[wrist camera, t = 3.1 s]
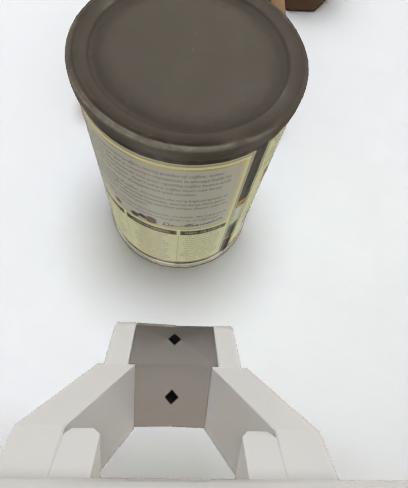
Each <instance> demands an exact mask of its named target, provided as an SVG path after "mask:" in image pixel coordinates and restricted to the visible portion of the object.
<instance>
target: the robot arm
mask: <svg viewBox="0 0 408 488" xmlns="http://www.w3.org/2000/svg"><path fill="white" fill-rule="evenodd" d="M169 424H170V426H172V427H193V428H205V431H206V433H207V434H208V436H209V437H210V439H211V440H212V442H213V443H214V445H215V446H216V448H217V449H218V451H219V452H220V454H221V455H222V456H223V458H224V459H225V461H226V462H227V464H228V465H229V467H230V468H231V470H232V471H233V473H234V474H235V479H138V478H101V469H102V468H103V467H104V465H105V464H106V463H107V462H108V460H109V459H110V458H111V457H112V455H113V454H114V453H115V452H116V450H117V449H118V448H119V447H120V445H121V444H122V443H123V441H124V440H125V439H126V438H127V436H128V435H129V434H130V433H131V431H132V430H133V428H134V427H151V426H169ZM0 488H408V481H362V480H339V478H338V476H337V473H336V471H335V468H334V466H333V463H332V461H331V458H330V456H329V453H328V451H327V448H326V446H325V443H324V441H323V438H322V436H321V433H320V431H319V430H318V429H316V428H315V427H314V426H313V425H312V424H311V423H309V422H308V421H307V420H306V419H305V418H304V417H303V416H301V415H300V414H299V413H298V412H297V411H296V410H295V409H293V408H292V407H291V406H290V405H289V404H288V403H286V402H285V401H284V400H283V399H282V398H281V397H280V396H278V395H277V394H276V393H275V392H274V391H273V390H272V389H270V388H269V387H268V386H267V385H266V384H265V383H263V382H262V381H261V380H260V379H259V378H258V377H257V376H255V375H254V374H253V373H252V372H251V371H250V370H249V369H247V368H241V363H240V358H239V354H238V349H237V345H236V340H235V336H234V331H233V328H232V327H231V326H213V327H204V326H175V325H164V324H149V323H137V324H136V323H133V322H117V323H116V324H115V327H114V330H113V334H112V337H111V341H110V344H109V348H108V351H107V355H106V358H105V362H104V363H98V364H96V365H95V366H94V367H92V368H91V369H90V370H88V371H87V372H86V373H84V374H83V375H82V376H80V377H79V378H78V379H76V380H75V381H73V382H72V383H71V384H69V385H68V386H67V387H65V388H64V389H63V390H61V391H60V392H59V393H57V394H56V395H55V396H53V397H52V398H51V399H49V400H48V401H46V402H45V403H44V404H42V405H41V406H40V407H38V408H37V409H36V410H34V411H33V412H32V413H30V414H29V415H28V416H26V417H25V418H23V419H22V420H21V421H19V422H18V423H17V424H15V426H14V428H13V430H12V432H11V434H10V436H9V438H8V440H7V442H6V444H5V446H4V448H3V450H2V452H1V454H0Z"/></svg>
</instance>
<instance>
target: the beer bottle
mask: <svg viewBox="0 0 408 488" xmlns="http://www.w3.org/2000/svg"><path fill="white" fill-rule="evenodd" d="M284 1H285V8H286V9H287V10H303V11H314V10H315V9H316V8H317V7H318V6H319V5H320V4H321V3H322V2H323V1H325V0H284Z"/></svg>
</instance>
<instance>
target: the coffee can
mask: <svg viewBox="0 0 408 488" xmlns="http://www.w3.org/2000/svg"><path fill="white" fill-rule="evenodd" d="M65 63H66V69H67V73H68V77H69V80H70V84H71V86H72V88H73V91H74V93H75V96H76V97H77V99H78V101H79V103H80V105H81V109H82V112H83V115H84V119H85V122H86V125H87V129H88V132H89V135H90V139H91V142H92V145H93V149H94V152H95V155H96V159H97V162H98V165H99V169H100V172H101V176H102V179H103V182H104V185H105V188H106V192H107V195H108V198H109V201H110V205H111V208H112V213H113V219H114V222H115V225H116V228H117V230H118V232H119V233H120V235H121V237H122V238H123V240H124V241H125V242H126V243H127V245H128V246H129V247H130V248H131V249H133V250H134V251H135V252H136V253H137V254H139V255H140V256H142V257H144V258H146V259H148V260H150V261H152V262H154V263H157V264H161V265H164V266H171V267H192V266H196V265H199V264H203V263H206V262H208V261H211V260H213V259H215V258H217V257H218V256H220V255H221V254H223V253H224V252H225V251H226V250H227V249H228V248H229V247H230V246H231V245H232V244H233V243H234V242H235V240H236V239H237V237H238V235H239V233H240V231H241V229H242V226H243V223H244V219H245V217H246V215H247V213H248V211H249V208H250V206H251V204H252V201H253V199H254V197H255V194H256V192H257V190H258V188H259V185H260V183H261V181H262V178H263V176H264V174H265V172H266V170H267V168H268V165H269V163H270V161H271V159H272V157H273V154H274V152H275V149H276V147H277V145H278V143H279V140H280V138H281V136H282V133H283V131H284V129H285V127H286V124H287V123H288V122H289V120H290V119H291V117H292V116H293V115H294V113H295V111H296V109H297V108H298V106H299V104H300V102H301V100H302V98H303V95H304V92H305V90H306V86H307V81H308V58H307V54H306V50H305V47H304V45H303V42H302V40H301V38H300V36H299V34H298V32H297V30H296V29H295V27H294V26H293V24H292V23H291V22H290V20H289V19H288V18H287V16H286V15H285V14H284V13H283V12H282V11H281V10H280V9H279V8H277V7H276V6H275V5H274V4H272V3H271V2H270V1H269V0H91V1H89V2H88V3H87V4H86V6H85V7H84V8H83V9H82V10H81V11H80V12H79V14H78V15H77V16H76V18H75V20H74V21H73V23H72V25H71V27H70V30H69V33H68V36H67V39H66V46H65Z"/></svg>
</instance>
